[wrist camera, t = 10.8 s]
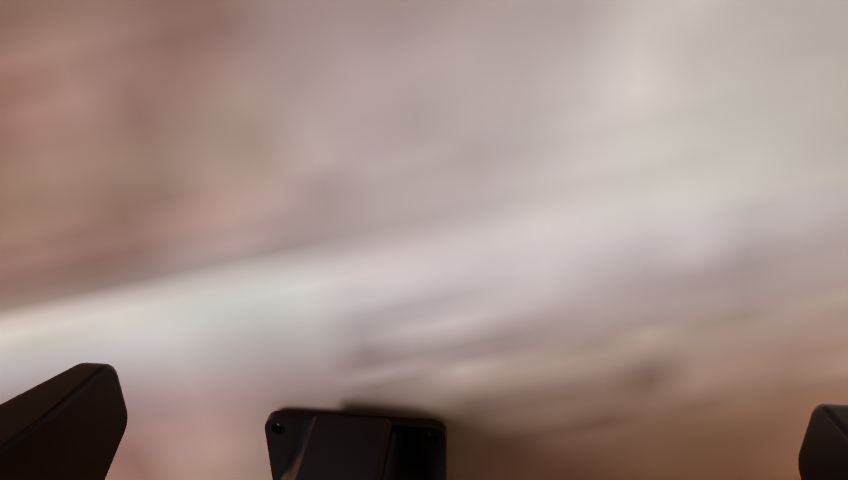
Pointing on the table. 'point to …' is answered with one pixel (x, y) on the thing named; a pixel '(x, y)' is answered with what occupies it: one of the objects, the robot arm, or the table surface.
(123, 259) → the table surface
